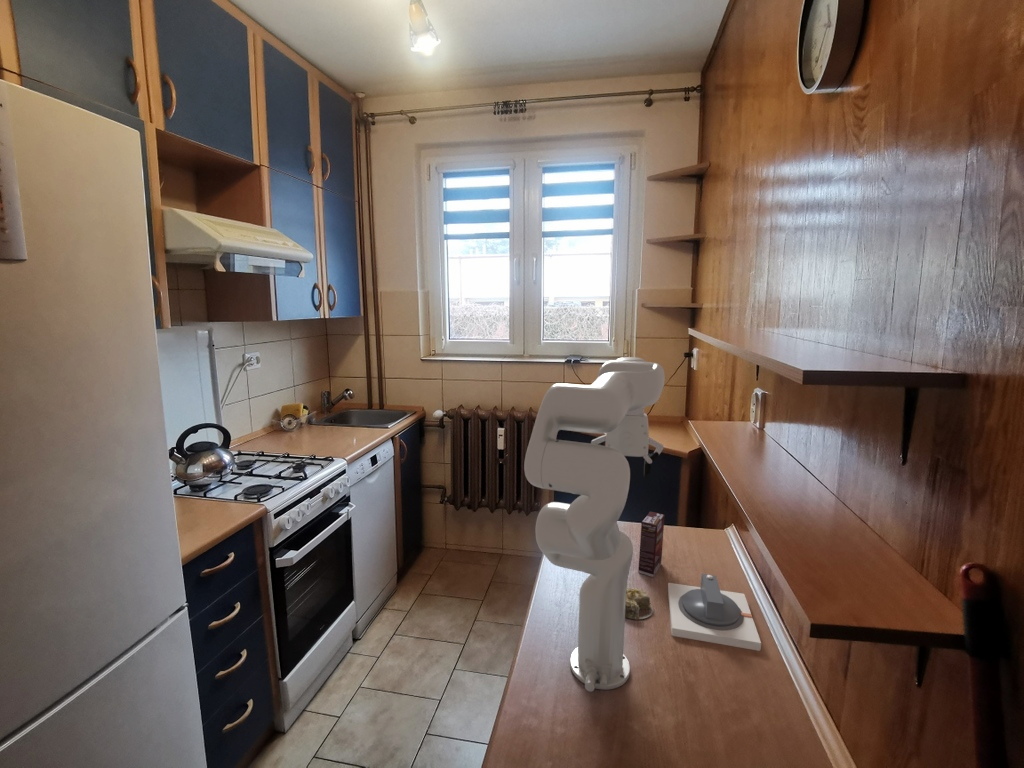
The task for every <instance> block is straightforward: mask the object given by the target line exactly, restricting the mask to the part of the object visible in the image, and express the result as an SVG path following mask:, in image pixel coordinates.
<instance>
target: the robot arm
mask: <svg viewBox="0 0 1024 768" xmlns="http://www.w3.org/2000/svg"><path fill="white" fill-rule="evenodd" d="M664 370H665V369H664V368H663V366H662V365H661V364H659V363H657V362H653V361H652V362H651V361H646V360H645V359H644V358H641V357H634V356H626V357H625V356H623V357H619V358H616V359H614V360H607V361H606V362H604V363H603V364H602V365H601V366H600V368H599V370H598V372H597V378H596V379H595V380H594V381H593V382H592V383H591V384H575V383H563V382H561V383H560V382H557V383H554V384H553V385H551V386H550V387H549V388H548V389H547V390H546V393H545V394H544V396H543V398H542V401H541V403H540V405H539V409H538V411H537V413H536V414H537V415H536V417H535V421H534V423H533V428H532V431H531V434H530V439H529V442H528V445H527V449H526V452H525V458H524V462H523V463H524V465H523V466H524V467H523V469H524V470H523V471H524V476H525V478H526V480H527V481H528V483H530V485H532V486H534V487H535V488H540V489H544V490H551V491H557V492H561V493H568V494H569V493H570V494H573V495H579V496H577V498H575V499H574V500H573V501H572V502H571V503H565V502H559V501H551V502H548V503H546V504H544V505H543V506H542V507H541V509H540V510H539V512H538V515H537V517H536V520H535V529H534V530H535V533H534V534H535V540H536V544H537V545H538V548H539V549H540V551H541V552H542V554H543V555H544V556H545V558H546V559H547V560H548V561H549V562H550V563H551V564H552V565H554V566H555V567H559V568H563V569H566V570H567V569H568V570H573V571H577V572H582V573H585V574H589V575H588V576H587V577H586V578H585V579H584V581H583V583H582V584H581V586H580V589H579V597H578V599H579V600H578V602H579V604H578V634H577V635H578V638H577V639H578V640H577V647H575V649H573V651H572V653H571V655H570V659H569V663H570V664H569V667H570V669H571V671H572V674H573V675H574V677H575V678H576V679H577V680H578V681H580V682H581V683H583V684H584V688H585V690H586V691H587V692H594V691H595V689H598V690H613V689H617V688H619V687H621V686H623V685H624V684H625V683H626V682H627V681H628V679H629V677H630V672H631V665H630V662H629V660H628V658H627V656H626V655H625V653H624V647H625V646H624V643H625V624H626V623H625V622H626V617H625V606H626V589H627V588H628V581H629V574H630V570H631V565H632V560H633V553H634V551H633V550H634V546H633V543H632V540H631V538H630V537H629V536H628V535H627V534H626V533H624V532H622V531H621V530H620V529H619V524H618V521H619V519H620V517H621V515H622V513H623V511H624V509H625V506H626V502H627V499H628V494H629V490H630V481H631V468H630V464H629V461H628V460H627V458H626V457H635V458H643V459H644V461H643V463H644V464H643V479H645V480H647V479H648V476H649V475H651V468H652V467H651V464H652V463H653V462H654V461H655V460H656V459H658V457H659V456H660V454H661V453H662V452H663V450H664V445H663V444H662V443H660V442H658V441H657V440H655V439H653V438H651V437H650V435H649V433H650V432H649V419H648V415H647V413H645V408H648V407H650V406H652V405H654V404H657V402H658V401H659V399H660V398H661V395H662V393H663V391H664V387H665V378H666V377H665V371H664ZM561 430H562V431H569V432H570V431H571V432H580V433H588V434H603V435H600V436H598V437H596V438H593V439H592V440H591V441H590V443H589V442H582V441H581V442H579V441H571V440H566V439H564V440H562V439H557V435H558V432H559V431H561ZM604 442H605V445H602V444H601V443H604ZM649 445H650V446H651V447H654V448H655V450H654V451H653V452H651V453H649V447H650V446H649Z"/></svg>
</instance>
